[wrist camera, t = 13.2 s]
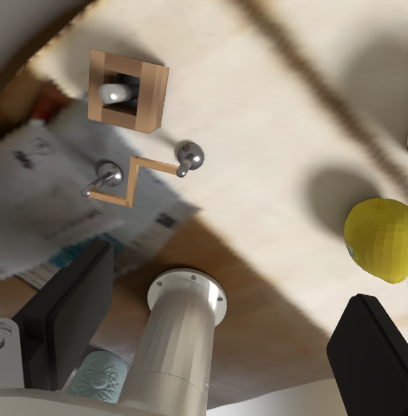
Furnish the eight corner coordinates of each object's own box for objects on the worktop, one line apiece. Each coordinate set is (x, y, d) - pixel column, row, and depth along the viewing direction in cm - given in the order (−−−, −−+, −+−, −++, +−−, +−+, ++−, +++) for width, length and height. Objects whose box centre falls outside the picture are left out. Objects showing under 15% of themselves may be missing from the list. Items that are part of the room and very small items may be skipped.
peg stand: (154, 115, 33) (128, 125, 25) (119, 106, 33) (82, 113, 25) (160, 75, 31) (134, 72, 23) (122, 65, 31) (83, 60, 23)
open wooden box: (160, 126, 33) (148, 133, 28) (108, 113, 33) (87, 118, 28) (169, 67, 30) (156, 65, 26) (112, 53, 30) (90, 48, 26)
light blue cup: (115, 343, 51) (81, 414, 40) (141, 378, 54) (116, 453, 43) (72, 353, 54) (29, 422, 43) (99, 386, 57) (66, 458, 46)
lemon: (334, 188, 34) (360, 217, 27) (404, 179, 33) (451, 206, 26) (335, 261, 38) (358, 302, 31) (397, 255, 37) (436, 297, 30)
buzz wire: (208, 163, 35) (201, 181, 28) (114, 200, 38) (90, 223, 32) (191, 124, 33) (180, 135, 27) (95, 167, 37) (65, 185, 30)
